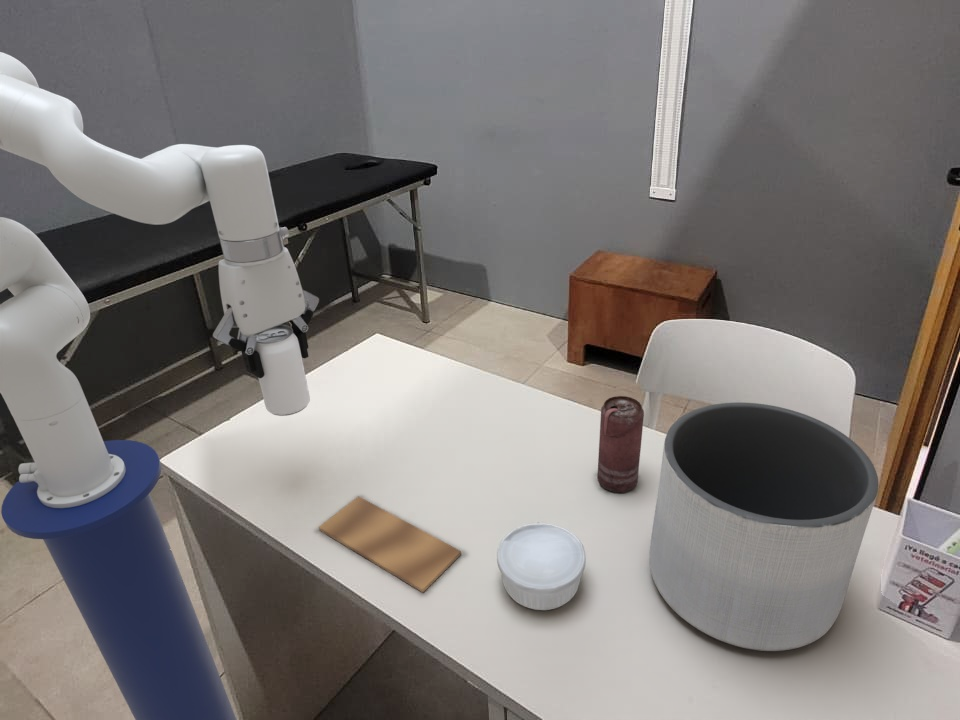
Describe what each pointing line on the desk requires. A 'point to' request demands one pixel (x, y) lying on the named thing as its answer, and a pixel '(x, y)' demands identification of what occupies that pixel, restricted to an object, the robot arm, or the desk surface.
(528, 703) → the desk surface
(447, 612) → the desk surface
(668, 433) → the planter
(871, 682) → the desk surface
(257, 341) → the can
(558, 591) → the ramekin
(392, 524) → the board
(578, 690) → the desk surface
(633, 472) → the can
